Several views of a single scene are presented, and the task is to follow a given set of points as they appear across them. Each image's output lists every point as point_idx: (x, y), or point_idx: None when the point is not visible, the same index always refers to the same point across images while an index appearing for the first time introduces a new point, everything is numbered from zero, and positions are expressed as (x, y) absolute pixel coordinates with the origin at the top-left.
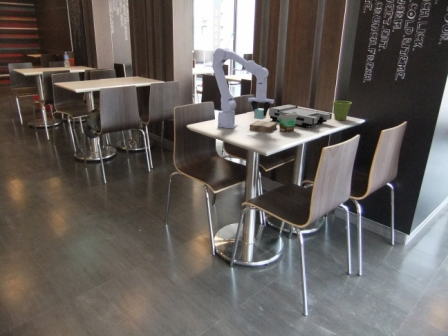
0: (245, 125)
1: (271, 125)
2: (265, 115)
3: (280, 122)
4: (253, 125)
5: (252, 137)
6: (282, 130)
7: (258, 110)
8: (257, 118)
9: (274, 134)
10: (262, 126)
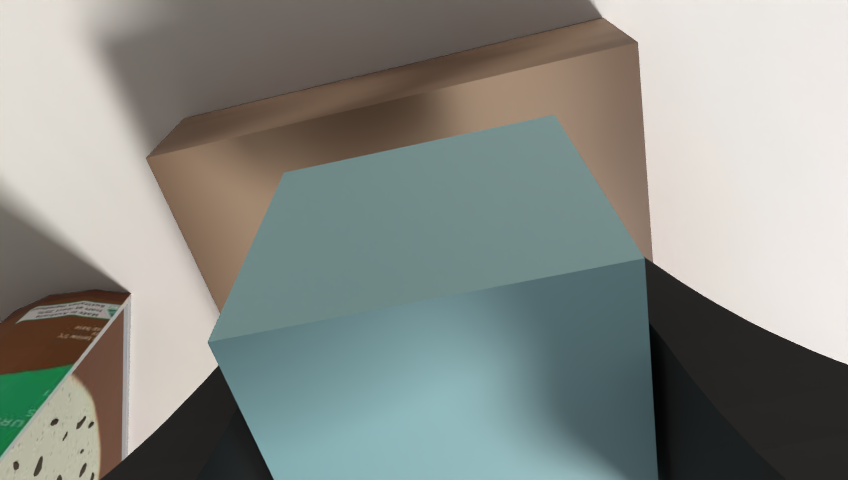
0: (824, 239)
1: (226, 291)
2: None
3: (21, 388)
4: (536, 65)
5: None
6: (58, 304)
7: (423, 286)
8: (442, 140)
9: (7, 55)
10: (311, 116)
